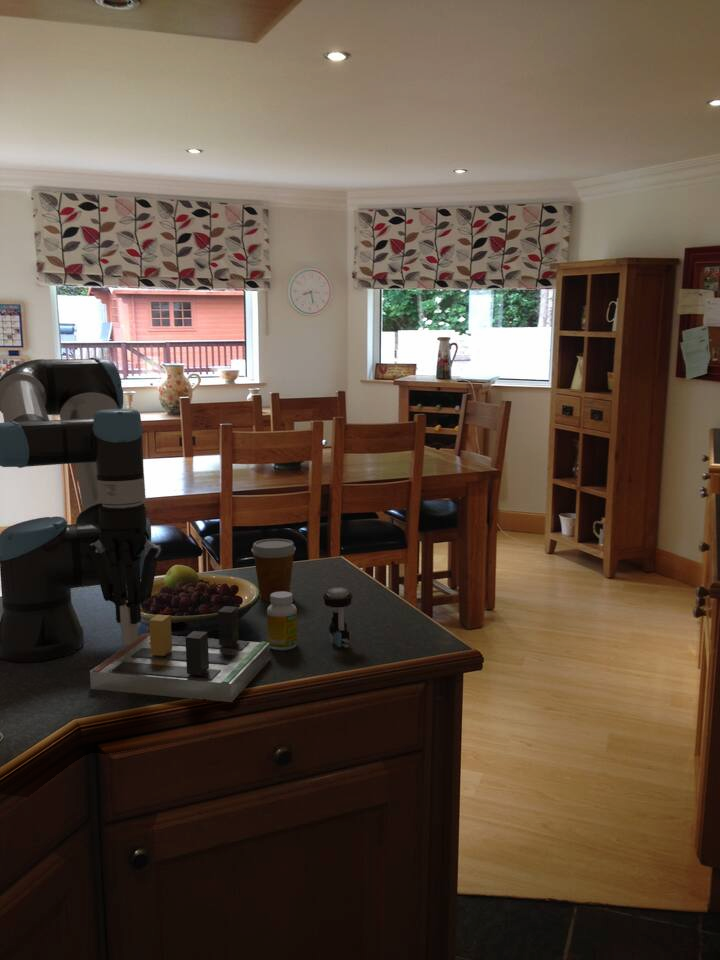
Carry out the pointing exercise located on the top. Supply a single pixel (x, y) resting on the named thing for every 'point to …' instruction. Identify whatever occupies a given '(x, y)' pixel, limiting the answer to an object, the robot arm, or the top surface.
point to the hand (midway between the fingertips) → (129, 641)
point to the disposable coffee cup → (273, 565)
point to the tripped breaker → (160, 634)
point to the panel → (186, 664)
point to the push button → (338, 615)
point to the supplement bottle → (282, 621)
